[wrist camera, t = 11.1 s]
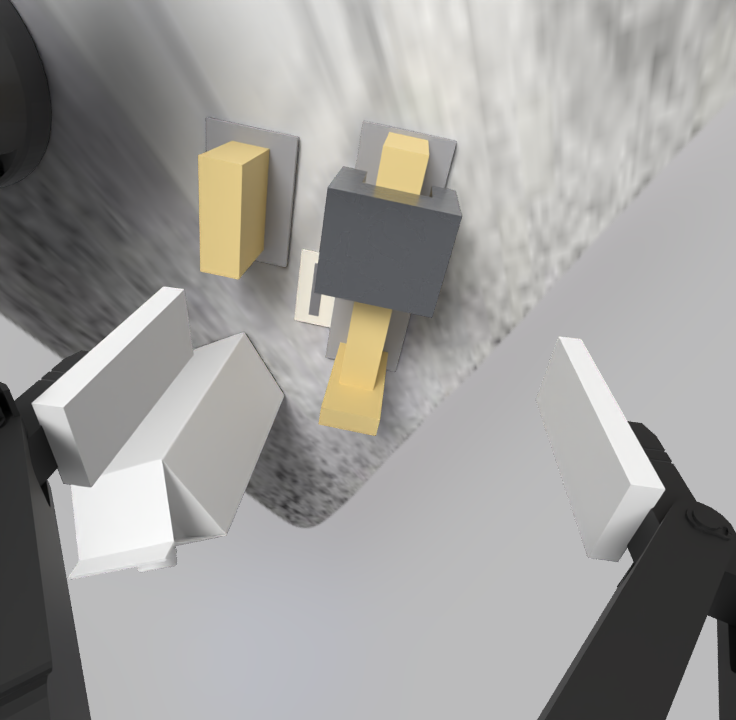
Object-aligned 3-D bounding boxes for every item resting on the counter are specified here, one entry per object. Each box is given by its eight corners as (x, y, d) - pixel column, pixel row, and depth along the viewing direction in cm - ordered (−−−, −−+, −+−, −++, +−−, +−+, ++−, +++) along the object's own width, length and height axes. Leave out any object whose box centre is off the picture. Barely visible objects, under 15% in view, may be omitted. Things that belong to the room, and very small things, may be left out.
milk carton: (177, 354, 41) (22, 541, 25) (245, 330, 39) (123, 517, 23) (221, 413, 44) (108, 612, 28) (285, 394, 42) (202, 596, 26)
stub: (209, 248, 35) (174, 279, 30) (208, 117, 30) (166, 129, 25) (287, 264, 35) (264, 298, 30) (299, 137, 30) (274, 152, 25)
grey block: (330, 258, 32) (313, 292, 27) (343, 166, 28) (327, 187, 24) (430, 280, 32) (432, 317, 27) (455, 190, 28) (461, 216, 24)
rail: (326, 354, 39) (303, 423, 32) (363, 120, 29) (343, 142, 22) (395, 368, 39) (389, 441, 32) (456, 140, 30) (467, 168, 22)
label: (294, 318, 38) (294, 320, 38) (302, 248, 35) (301, 250, 34) (330, 326, 38) (330, 327, 38) (341, 257, 35) (341, 258, 34)
